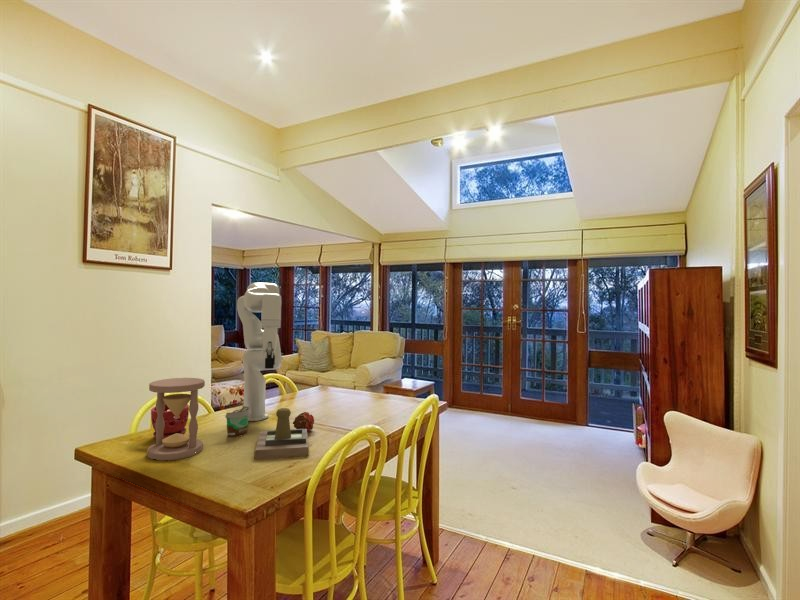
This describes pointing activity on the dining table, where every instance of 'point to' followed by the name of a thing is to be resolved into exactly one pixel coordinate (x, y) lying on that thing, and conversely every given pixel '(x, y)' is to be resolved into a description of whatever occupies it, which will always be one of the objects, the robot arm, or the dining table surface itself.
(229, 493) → the dining table surface
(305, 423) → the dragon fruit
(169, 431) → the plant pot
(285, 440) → the dock
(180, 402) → the hourglass
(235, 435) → the food container
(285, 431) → the brown rounded bulbous piece
